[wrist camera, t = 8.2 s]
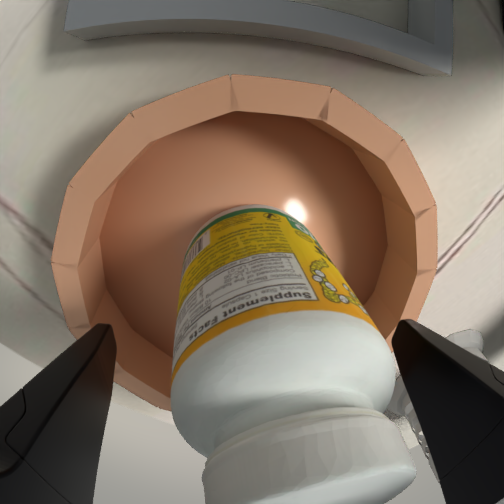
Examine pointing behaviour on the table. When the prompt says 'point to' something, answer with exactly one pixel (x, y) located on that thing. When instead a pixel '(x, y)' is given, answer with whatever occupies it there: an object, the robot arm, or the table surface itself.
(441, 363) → the robot arm
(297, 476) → the supplement bottle
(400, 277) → the bowl
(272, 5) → the open rectangular frame
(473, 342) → the french press
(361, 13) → the table surface
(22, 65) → the table surface
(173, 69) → the table surface
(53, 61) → the table surface
